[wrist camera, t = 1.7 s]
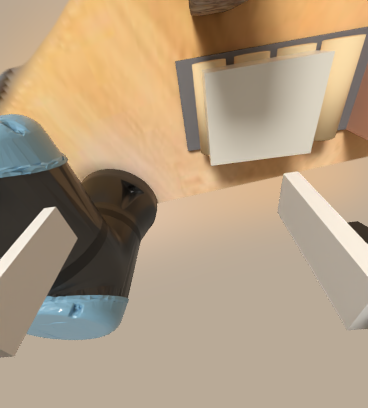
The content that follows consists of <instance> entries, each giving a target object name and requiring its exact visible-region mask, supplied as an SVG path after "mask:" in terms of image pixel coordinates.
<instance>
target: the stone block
mask: <svg viewBox="0 0 368 408" xmlns="http://www.w3.org/2000/svg"><path fill="white" fill-rule="evenodd" d="M246 1H247V0H189V8H190V12H191V15H192V16H194V15H198V16H201V15H207V14H213V13H217V12H225V11H227V10H230V9H232V8H234V7H236V6H238V5H240V4H241V3H243V2H246Z"/></svg>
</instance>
